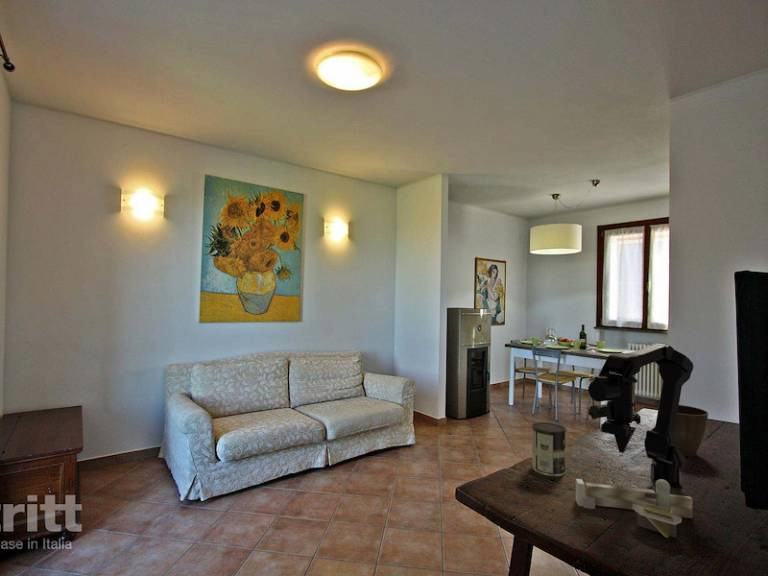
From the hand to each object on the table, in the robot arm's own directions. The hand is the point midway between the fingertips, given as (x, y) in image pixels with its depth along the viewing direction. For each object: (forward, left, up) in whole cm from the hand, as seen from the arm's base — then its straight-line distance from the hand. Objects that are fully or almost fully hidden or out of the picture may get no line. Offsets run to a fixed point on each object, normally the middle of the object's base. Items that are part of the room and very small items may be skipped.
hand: (621, 452), depth 116 cm
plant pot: (-33, -41, -12) cm, 54 cm away
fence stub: (-11, +9, -12) cm, 19 cm away
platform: (-2, +19, -13) cm, 23 cm away
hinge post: (-7, +9, -12) cm, 17 cm away
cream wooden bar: (+3, +9, -11) cm, 15 cm away
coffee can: (+18, -12, -12) cm, 25 cm away
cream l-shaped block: (+12, +9, -12) cm, 19 cm away
